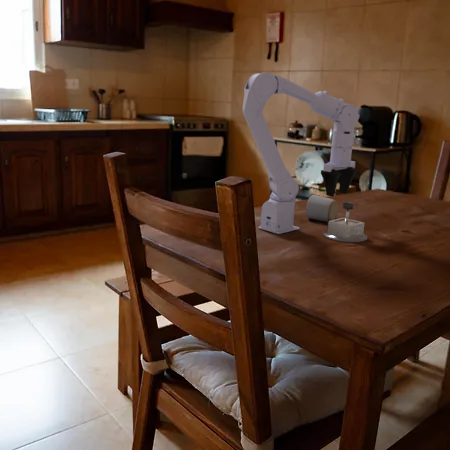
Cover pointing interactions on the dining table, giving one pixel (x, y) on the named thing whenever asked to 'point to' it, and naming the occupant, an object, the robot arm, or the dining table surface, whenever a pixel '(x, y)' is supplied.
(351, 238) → the press
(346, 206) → the plunger
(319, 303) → the dining table surface
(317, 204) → the ceramic mug
